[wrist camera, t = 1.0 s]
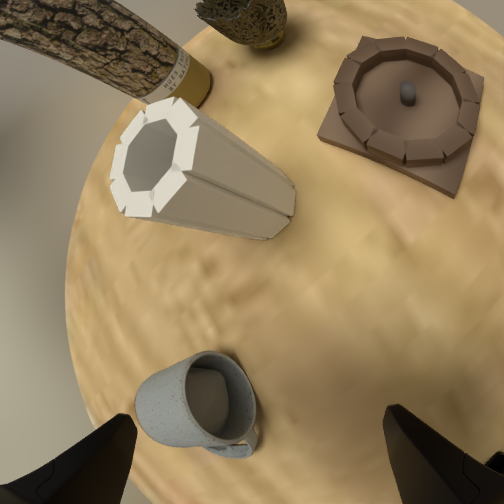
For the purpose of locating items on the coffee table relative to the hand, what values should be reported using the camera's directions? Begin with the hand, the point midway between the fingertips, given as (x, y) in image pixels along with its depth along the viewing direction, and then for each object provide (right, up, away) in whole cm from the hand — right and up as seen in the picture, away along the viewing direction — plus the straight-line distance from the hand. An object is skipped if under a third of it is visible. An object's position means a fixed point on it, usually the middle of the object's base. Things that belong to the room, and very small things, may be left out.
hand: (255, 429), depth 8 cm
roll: (+1, +10, +15) cm, 18 cm away
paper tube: (-7, +23, +20) cm, 31 cm away
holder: (+12, +17, +10) cm, 23 cm away
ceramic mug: (-2, -8, +16) cm, 18 cm away
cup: (+2, +27, +16) cm, 31 cm away
